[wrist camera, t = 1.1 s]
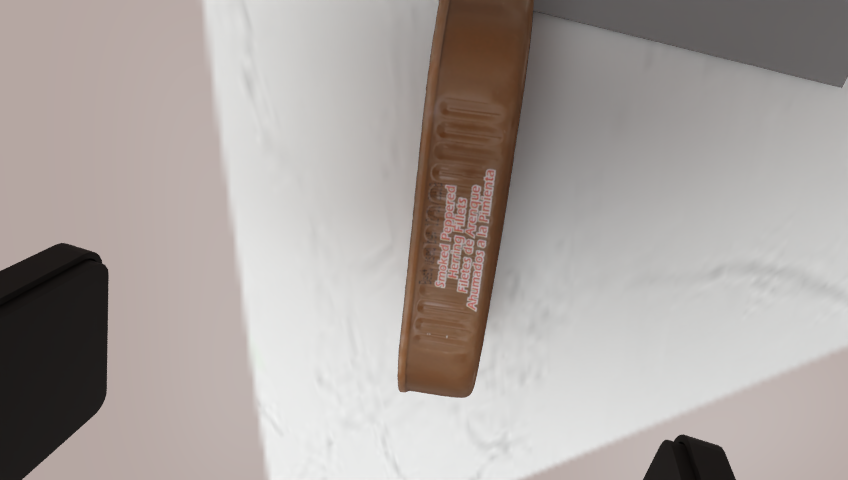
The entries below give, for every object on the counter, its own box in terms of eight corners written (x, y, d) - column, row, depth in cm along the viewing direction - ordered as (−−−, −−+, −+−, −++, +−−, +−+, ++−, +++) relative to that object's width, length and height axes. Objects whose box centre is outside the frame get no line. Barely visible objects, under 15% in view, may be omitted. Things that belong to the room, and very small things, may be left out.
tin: (462, -37, 22) (415, -62, 14) (548, -28, 21) (548, -49, 14) (420, 318, 28) (371, 438, 20) (487, 331, 27) (464, 459, 19)
